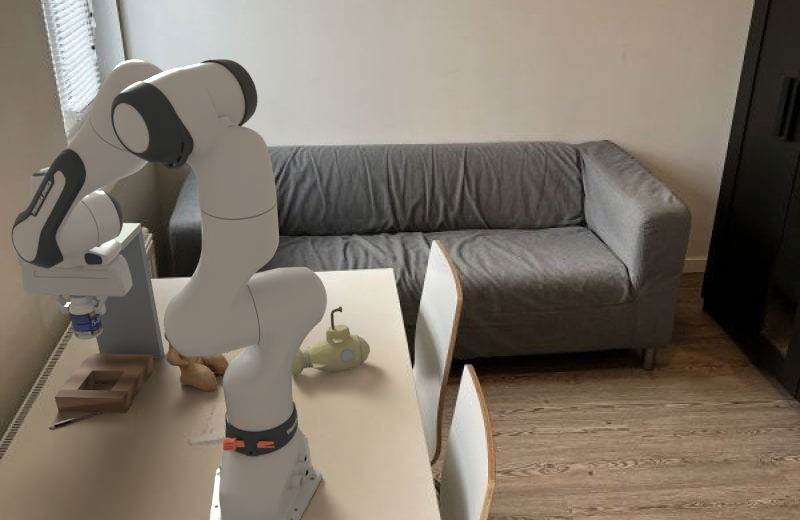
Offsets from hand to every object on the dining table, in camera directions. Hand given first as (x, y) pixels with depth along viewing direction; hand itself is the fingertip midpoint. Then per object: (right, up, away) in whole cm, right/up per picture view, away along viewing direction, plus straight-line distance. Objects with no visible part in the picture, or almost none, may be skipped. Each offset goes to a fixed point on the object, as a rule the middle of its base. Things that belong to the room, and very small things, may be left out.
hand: (84, 312), depth 151 cm
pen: (-2, -22, +2) cm, 22 cm away
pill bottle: (0, -4, +2) cm, 5 cm away
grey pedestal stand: (+1, -13, +19) cm, 23 cm away
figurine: (+19, -15, +14) cm, 28 cm away
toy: (+47, -14, +16) cm, 51 cm away
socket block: (0, -17, +11) cm, 20 cm away
